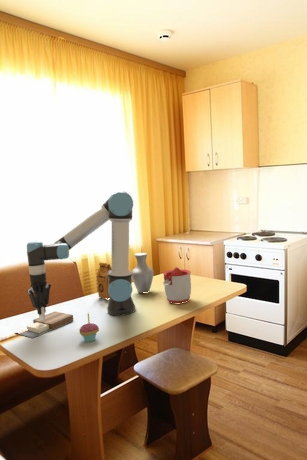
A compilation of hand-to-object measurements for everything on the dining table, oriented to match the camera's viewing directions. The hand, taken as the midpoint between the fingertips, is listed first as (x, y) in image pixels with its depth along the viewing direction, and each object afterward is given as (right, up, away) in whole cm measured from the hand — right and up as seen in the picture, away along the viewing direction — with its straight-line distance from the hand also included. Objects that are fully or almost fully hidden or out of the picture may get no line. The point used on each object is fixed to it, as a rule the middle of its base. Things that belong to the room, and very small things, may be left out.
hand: (42, 319), depth 178 cm
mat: (-3, -5, -3) cm, 7 cm away
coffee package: (+27, +2, +45) cm, 53 cm away
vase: (+49, +4, +52) cm, 71 cm away
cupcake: (+27, -4, -18) cm, 32 cm away
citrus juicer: (+69, +3, +27) cm, 74 cm away
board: (+4, -3, +7) cm, 9 cm away
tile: (-1, -4, -2) cm, 5 cm away
